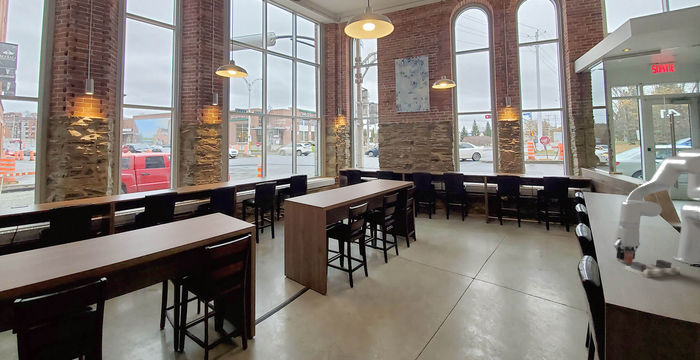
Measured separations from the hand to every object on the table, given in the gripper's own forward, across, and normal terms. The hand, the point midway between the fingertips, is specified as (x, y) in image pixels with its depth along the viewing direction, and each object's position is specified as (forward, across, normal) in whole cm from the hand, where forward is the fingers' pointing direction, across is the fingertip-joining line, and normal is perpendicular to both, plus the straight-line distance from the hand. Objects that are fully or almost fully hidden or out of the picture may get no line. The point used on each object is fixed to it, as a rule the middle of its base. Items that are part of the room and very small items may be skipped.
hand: (625, 258), depth 148 cm
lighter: (+3, 0, 0) cm, 3 cm away
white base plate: (+3, -1, +11) cm, 11 cm away
